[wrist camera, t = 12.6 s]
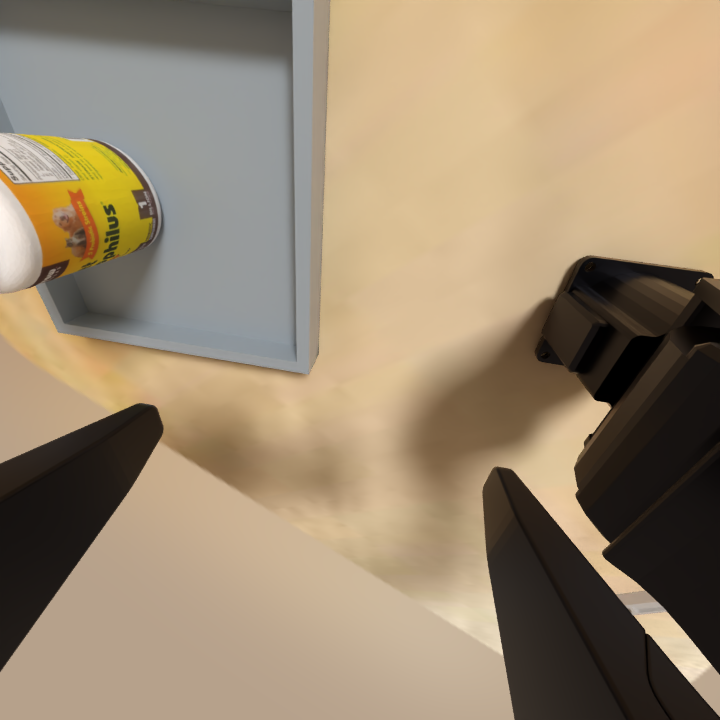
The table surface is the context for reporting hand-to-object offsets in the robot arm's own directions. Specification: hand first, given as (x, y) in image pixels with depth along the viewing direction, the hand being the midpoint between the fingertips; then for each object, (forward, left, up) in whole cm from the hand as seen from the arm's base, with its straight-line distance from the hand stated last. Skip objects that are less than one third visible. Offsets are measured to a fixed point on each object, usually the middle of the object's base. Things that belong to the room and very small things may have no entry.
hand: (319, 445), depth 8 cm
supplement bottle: (+15, -3, -13) cm, 20 cm away
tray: (+12, -3, -13) cm, 18 cm away
